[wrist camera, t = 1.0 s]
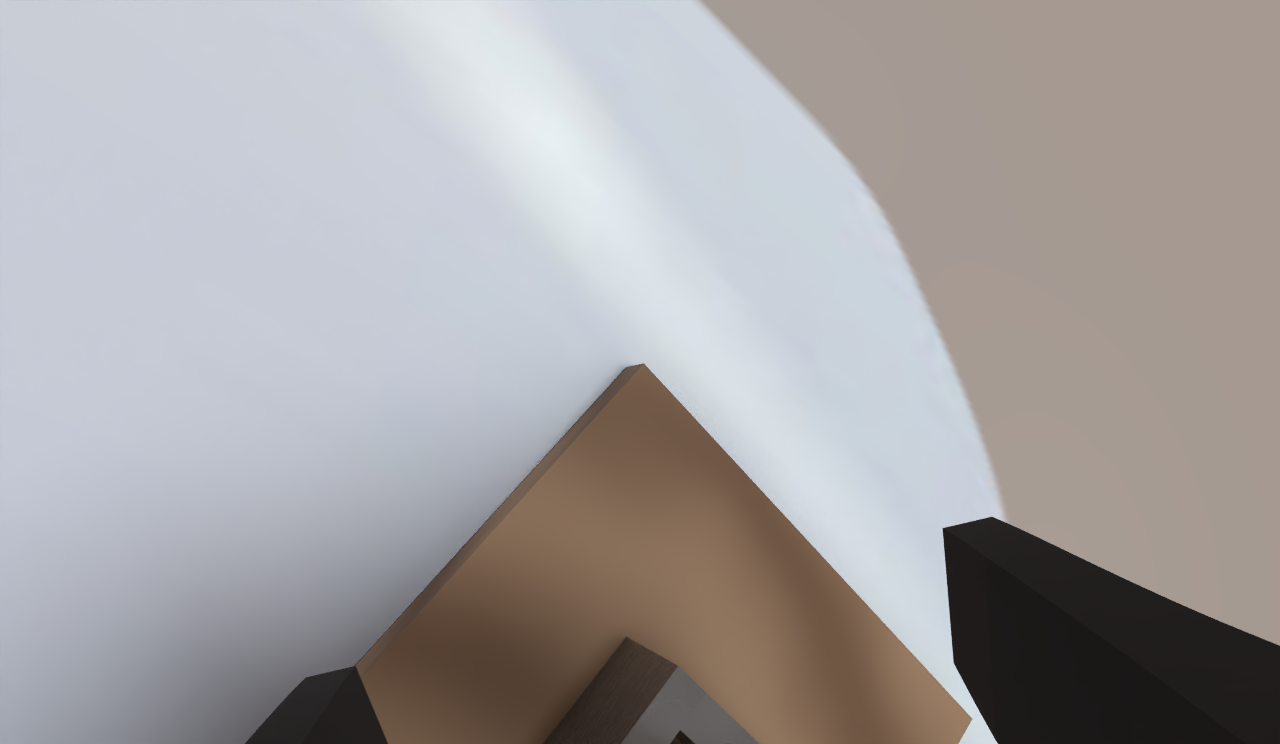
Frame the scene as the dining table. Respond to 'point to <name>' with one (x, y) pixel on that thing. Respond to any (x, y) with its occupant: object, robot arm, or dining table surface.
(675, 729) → the sleeve
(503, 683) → the board
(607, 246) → the dining table surface
